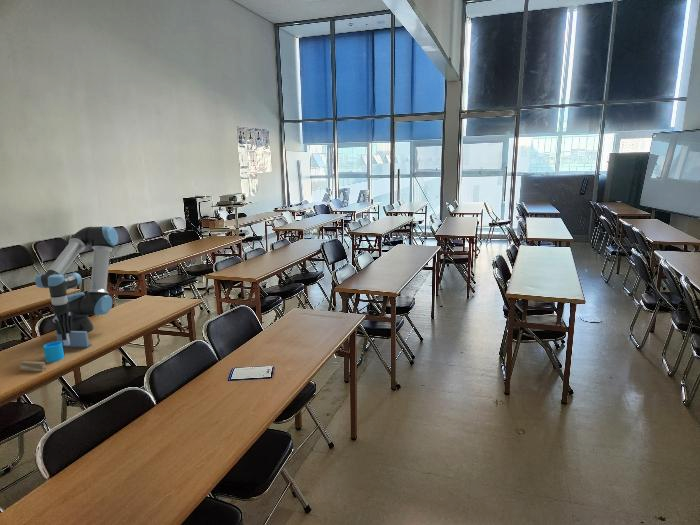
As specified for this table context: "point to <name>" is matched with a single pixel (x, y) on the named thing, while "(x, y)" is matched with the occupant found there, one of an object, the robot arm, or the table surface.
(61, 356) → the mug
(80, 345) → the screen
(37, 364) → the block
